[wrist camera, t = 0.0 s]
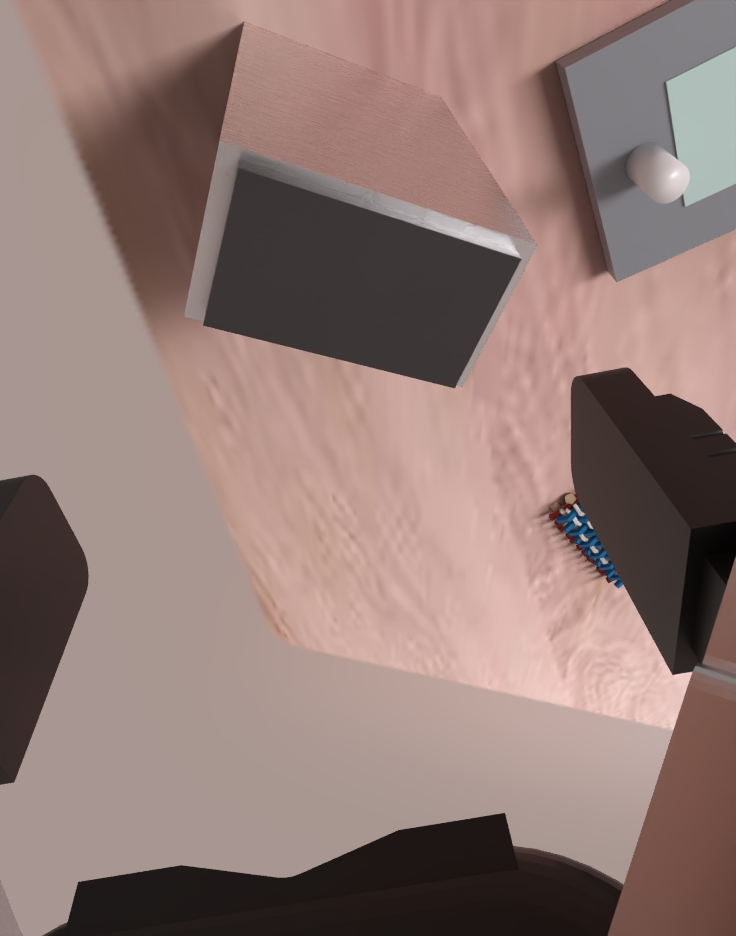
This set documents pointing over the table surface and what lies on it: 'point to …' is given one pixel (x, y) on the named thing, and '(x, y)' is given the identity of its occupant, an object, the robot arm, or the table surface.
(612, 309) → the table surface
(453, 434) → the table surface
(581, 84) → the pin tray
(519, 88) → the table surface
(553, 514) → the woven mat
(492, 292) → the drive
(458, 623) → the table surface
